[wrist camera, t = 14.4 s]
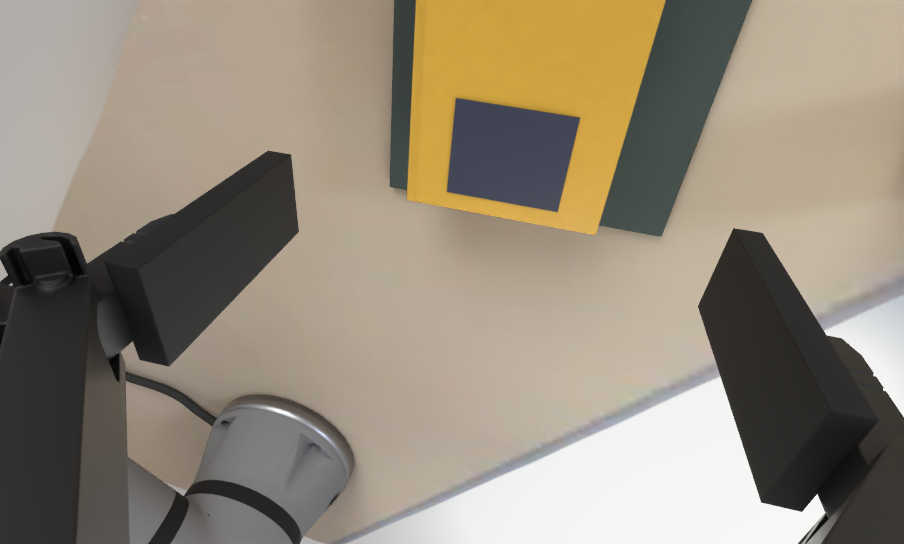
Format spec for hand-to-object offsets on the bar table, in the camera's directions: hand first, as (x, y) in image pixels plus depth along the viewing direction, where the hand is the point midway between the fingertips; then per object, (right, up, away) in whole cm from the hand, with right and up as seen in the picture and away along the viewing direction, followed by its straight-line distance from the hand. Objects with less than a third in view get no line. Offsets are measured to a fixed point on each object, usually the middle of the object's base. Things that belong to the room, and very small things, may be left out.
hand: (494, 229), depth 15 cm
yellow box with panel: (+3, +11, +12) cm, 17 cm away
